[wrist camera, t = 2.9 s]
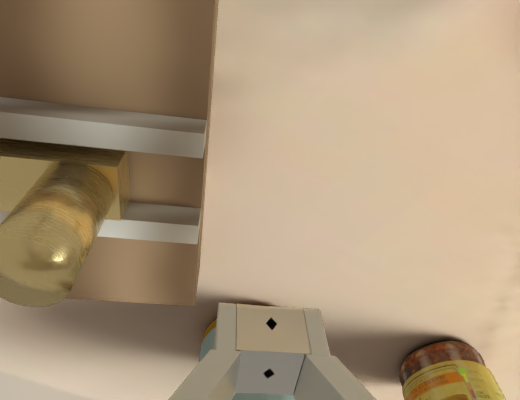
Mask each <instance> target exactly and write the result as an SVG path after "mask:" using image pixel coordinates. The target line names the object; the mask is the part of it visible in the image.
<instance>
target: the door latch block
mask: <svg viewBox="0 0 520 400" xmlns="http://www.w3.org/2000/svg"><path fill="white" fill-rule="evenodd" d="M217 13H218V0H0V138H7V139H17V140H27V141H36V142H46V143H56V144H66V145H76V146H85V147H95V148H105V149H115V150H125V151H128V165H129V184H130V200H129V202H128V205H127V207H126V209H125V212H124V214H123V217H122V219H121V221H118V220H106V219H105V220H104V222H103V224H102V227H101V229H100V231H99V233H98V235H97V237H96V239H95V241H94V243H93V245H92V247H91V249H90V251H89V254H88V256H87V258H86V260H85V262H84V264H83V266H82V268H81V270H80V272H79V274H78V276H77V278H76V280H75V283H74V285H73V287H72V289H71V291H70V293H69V294H68V295H67V296H66V297H65V298H70V299H86V300H101V301H117V302H133V303H149V304H164V305H180V306H195V299H196V291H197V283H198V275H199V268H200V254H201V239H202V225H203V211H204V197H205V183H206V169H207V155H208V140H209V126H210V112H211V98H212V84H213V70H214V56H215V41H216V27H217ZM10 212H11V211H0V224H1V223H2V222H3V221H4V219H5V218H6V217H7V216H8V215H9V213H10Z"/></svg>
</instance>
